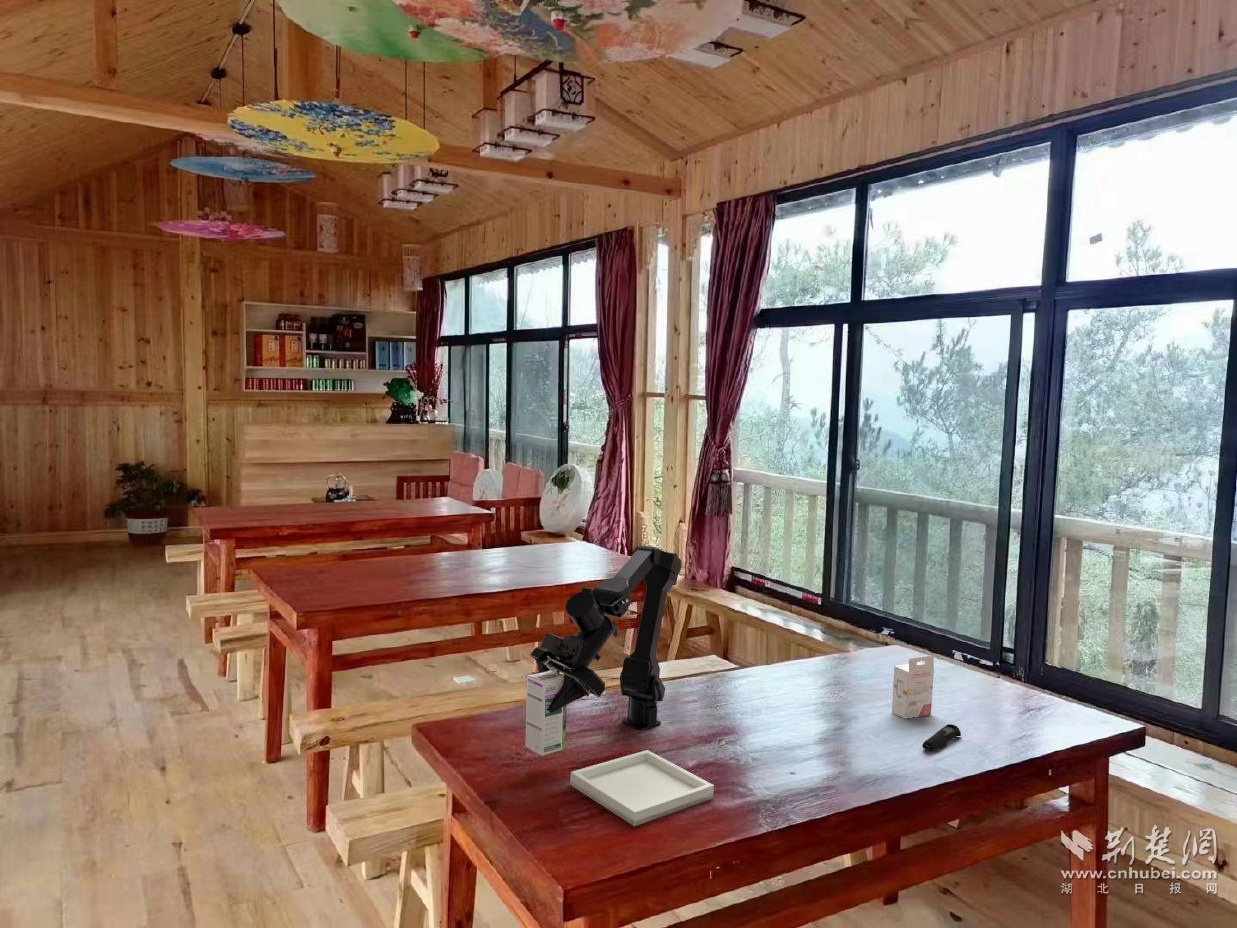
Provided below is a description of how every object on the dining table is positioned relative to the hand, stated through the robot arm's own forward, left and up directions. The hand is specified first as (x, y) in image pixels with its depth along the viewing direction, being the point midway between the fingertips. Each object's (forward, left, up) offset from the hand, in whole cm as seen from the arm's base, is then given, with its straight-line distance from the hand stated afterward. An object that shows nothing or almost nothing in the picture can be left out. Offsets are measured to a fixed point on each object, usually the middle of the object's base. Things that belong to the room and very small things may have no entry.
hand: (540, 706), depth 168 cm
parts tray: (+17, +12, -13) cm, 25 cm away
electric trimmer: (+36, +83, -14) cm, 92 cm away
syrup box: (0, +1, -9) cm, 9 cm away
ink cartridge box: (+21, +94, -13) cm, 97 cm away
